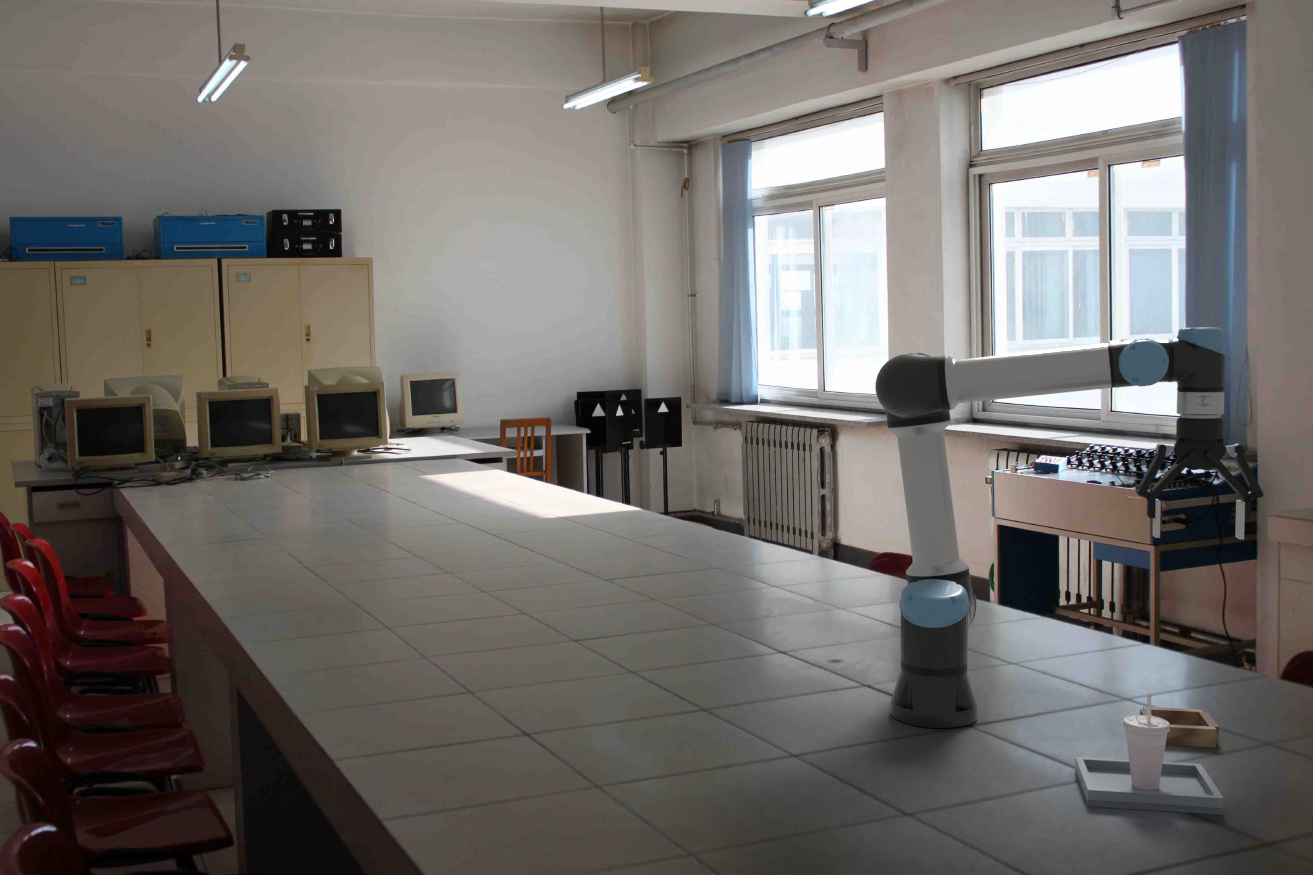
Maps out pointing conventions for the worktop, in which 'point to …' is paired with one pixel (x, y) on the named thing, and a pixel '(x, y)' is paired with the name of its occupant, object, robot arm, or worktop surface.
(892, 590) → the worktop surface
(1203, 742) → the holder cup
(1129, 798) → the tray
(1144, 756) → the smoothie
